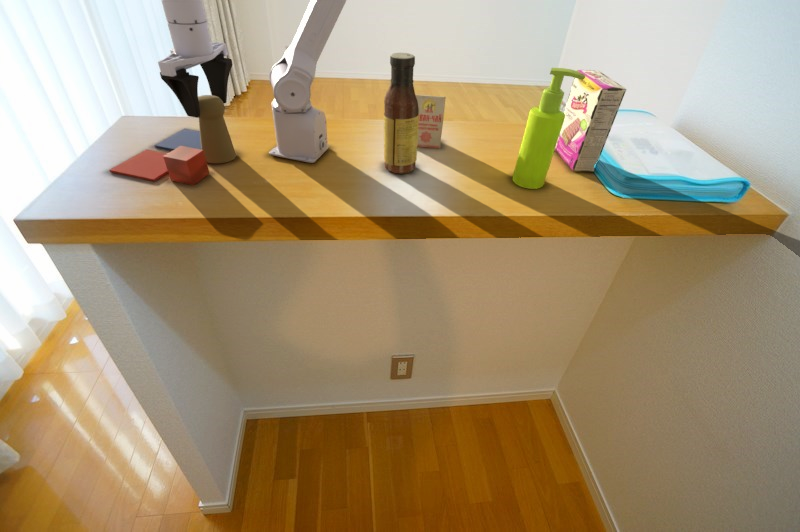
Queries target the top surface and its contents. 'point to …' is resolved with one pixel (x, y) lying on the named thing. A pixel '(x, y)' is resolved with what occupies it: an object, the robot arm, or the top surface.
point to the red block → (186, 165)
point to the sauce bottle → (401, 116)
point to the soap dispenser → (542, 133)
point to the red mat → (143, 166)
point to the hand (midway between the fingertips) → (207, 108)
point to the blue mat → (181, 140)
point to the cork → (214, 130)
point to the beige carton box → (430, 120)
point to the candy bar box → (588, 119)
